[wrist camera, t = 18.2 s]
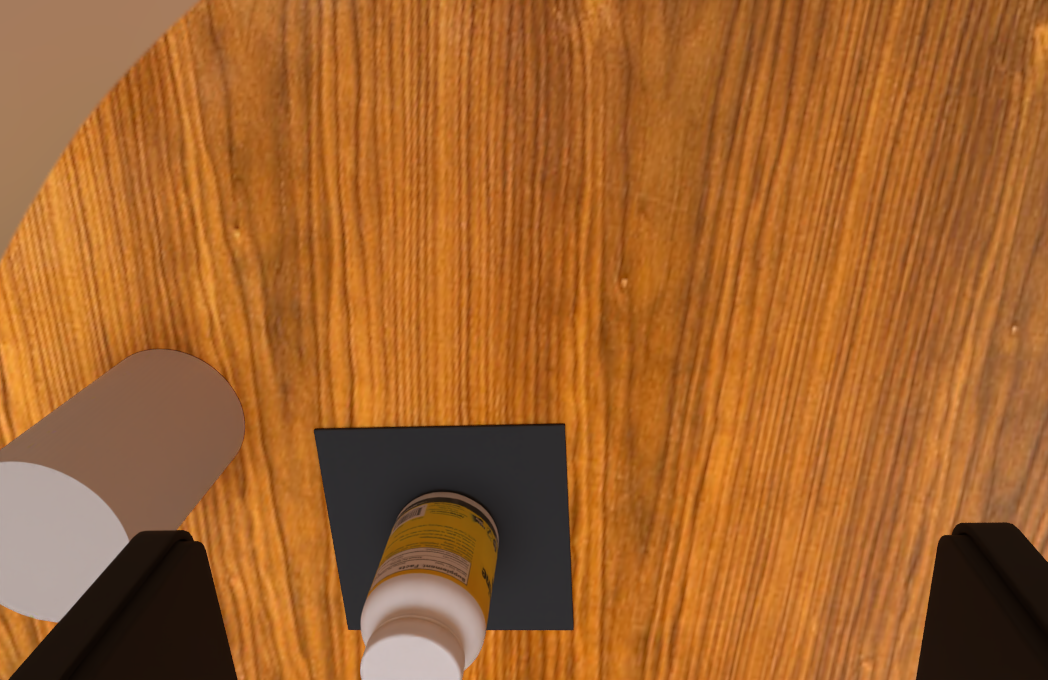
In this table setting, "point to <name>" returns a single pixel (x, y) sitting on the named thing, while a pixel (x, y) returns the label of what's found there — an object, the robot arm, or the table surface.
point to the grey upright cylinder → (109, 474)
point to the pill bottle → (431, 591)
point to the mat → (474, 472)
